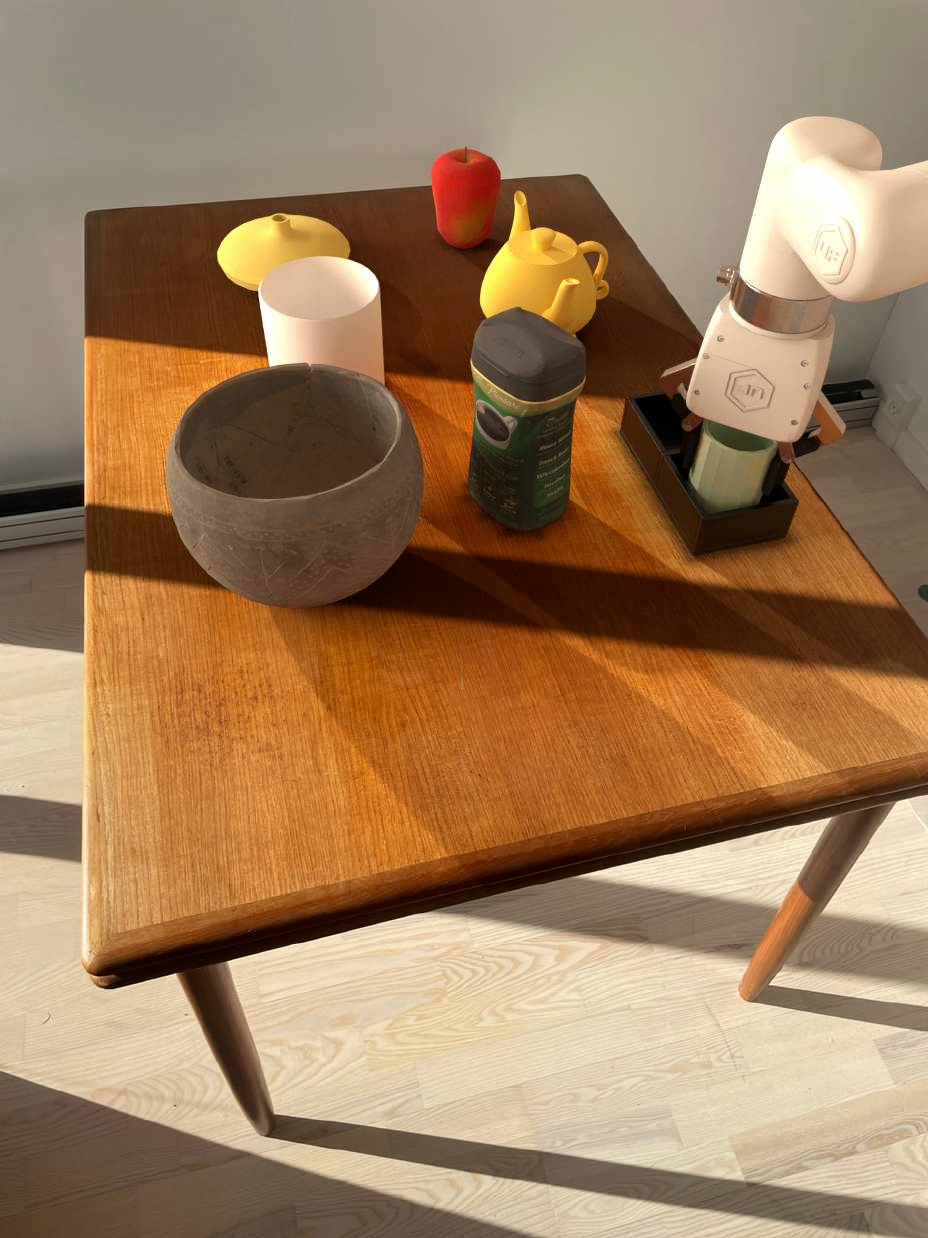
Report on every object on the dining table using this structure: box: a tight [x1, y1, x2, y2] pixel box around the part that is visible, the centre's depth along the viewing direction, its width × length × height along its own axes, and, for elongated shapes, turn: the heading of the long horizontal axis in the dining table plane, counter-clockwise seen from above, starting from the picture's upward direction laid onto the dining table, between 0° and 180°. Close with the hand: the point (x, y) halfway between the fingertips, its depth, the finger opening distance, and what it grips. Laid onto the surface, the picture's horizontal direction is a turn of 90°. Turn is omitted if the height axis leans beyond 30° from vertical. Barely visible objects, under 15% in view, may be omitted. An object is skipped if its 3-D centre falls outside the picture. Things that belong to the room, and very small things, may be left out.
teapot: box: [479, 190, 610, 339], centre depth 107 cm, size 20×15×12 cm
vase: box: [216, 212, 351, 293], centre depth 115 cm, size 16×16×7 cm
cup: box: [258, 256, 386, 387], centre depth 98 cm, size 12×12×12 cm
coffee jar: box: [467, 307, 587, 532], centre depth 85 cm, size 10×8×19 cm
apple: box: [430, 145, 502, 250], centre depth 119 cm, size 9×8×12 cm
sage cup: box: [687, 419, 778, 514], centre depth 87 cm, size 7×7×8 cm
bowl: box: [166, 363, 425, 609], centre depth 81 cm, size 21×21×15 cm
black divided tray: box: [619, 385, 800, 557], centre depth 93 cm, size 18×9×5 cm, turn 16°
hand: (729, 471), depth 88 cm, fingers closed on sage cup, 6 cm apart
